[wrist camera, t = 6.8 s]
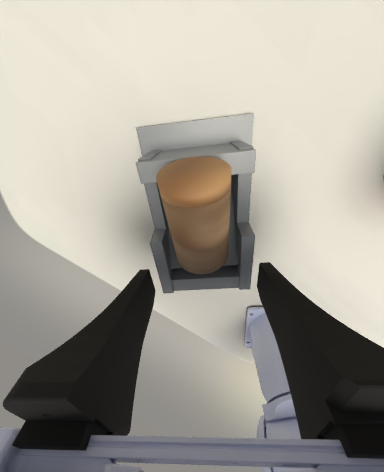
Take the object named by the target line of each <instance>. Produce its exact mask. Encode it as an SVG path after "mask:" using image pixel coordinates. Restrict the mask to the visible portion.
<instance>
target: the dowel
mask: <svg viewBox="0 0 384 472" xmlns="http://www.w3.org/2000/svg"><path fill="white" fill-rule="evenodd" d="M156 180H157V184H158V188H159V191H160V195H161V199H162V203H163V206H164V210H165V214H166V218H167V222H168V225H169V229H170V233H171V237H172V241H173V244H174V248H175V252H176V256H177V259H178V262H179V264H180V265H181V267H182V268H183V269H185V270H186V271H188V272H191V273H194V274H209V273H212V272H215V271H217V270H218V269H220V268H221V267H222V266H223V265H224V264H225V263H226V261H227V258H228V247H229V221H230V196H231V166H230V165H229V164H228V163H227V162H225V161H223V160H221V159H218V158H214V157H190V158H184V159H180V160H177V161H174V162H172V163H170V164H168V165H166V166H164V167H163V168H162V169H161V170H160V171H159V172H158V174H157V176H156Z"/></svg>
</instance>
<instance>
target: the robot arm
mask: <svg viewBox="0 0 384 472" xmlns="http://www.w3.org/2000/svg"><path fill="white" fill-rule="evenodd" d="M257 288H258V292H259V296H260V299H261V302H262V305H263V307H250V308H248V309H247V320H246V331H245V343H244V344H245V347H247V348H252V351H253V355H254V360H255V364H256V368H257V373H258V377H259V381H260V386H261V390H262V393H263V395H264V397H265V399H266V401H267V404H263V405H262V407H263V411H264V416H261V417H260V420H259V424H258V428H257V438H218V437H214V438H213V437H166V436H164V437H163V436H127V435H128V433H129V432H130V427H131V418H132V410H133V401H134V394H135V387H136V379H137V374H138V367H139V361H140V356H141V350H142V345H143V341H144V337H145V333H146V330H147V326H148V323H149V319H150V315H151V312H152V308H153V304H154V297H155V288H154V284H153V281H152V278H151V275H150V271H149V269H147V270H140V271H139V272H138V273H137V274H136V275H135V276H134V278H133V279H132V280H131V281H130V282H129V284H128V285H127V286H126V287H125V288H124V289H123V291H122V292H121V293H120V294H119V295H118V296H117V297H116V298H115V300H113V302H112V303H111V304H110V305H109V306H108V307H107V308H106V309H105V310H104V311H103V312H102V313H101V314H99V315H98V316H97V317H96V318H95V319H94V320H93V321H92V322H91V323H89V324H88V325H87V326H86V327H84V328H83V329H82V330H81V331H79V332H78V333H77V334H76V335H75V336H73V337H72V338H71V339H69V340H68V341H66V342H65V343H64V344H62V345H61V346H60V347H58V348H57V349H55V350H54V351H52V352H51V353H50V354H48V355H46V356H45V357H43V358H42V359H40V360H39V361H37V362H36V363H34V364H32V365H31V366H29V367H28V368H26V370H25V371H24V372H23V374H22V375H21V377H20V378H19V379H18V381H17V382H16V384H15V385H14V387H13V388H12V389H11V391H10V392H9V394H8V395H7V397H6V398H5V400H4V401H3V407H4V408H5V409H6V410H8V411H9V412H11V413H13V414H15V415H17V416H18V417H20V418H22V419H24V420H26V421H25V423H24V425H23V427H22V428H21V429H18V428H1V427H0V472H143V471H142V469H141V468H140V467H133V466H126V465H119V464H116V462H129V463H159V464H160V463H161V464H190V465H191V464H192V465H223V466H254V467H261V470H262V472H384V348H383V347H381V346H379V345H377V344H376V343H374V342H372V341H370V340H369V339H367V338H365V337H364V336H362V335H360V334H359V333H357V332H355V331H354V330H352V329H350V328H349V327H347V326H346V325H344V324H343V323H341V322H340V321H338V320H336V319H335V318H334V317H332V316H331V315H329V314H328V313H326V312H325V311H324V310H322V309H321V308H320V307H318V306H317V305H316V304H314V303H313V302H312V301H311V300H309V299H308V298H307V297H306V296H305V295H303V294H302V293H301V292H300V291H299V290H298V289H297V288H295V287H294V286H293V285H292V284H291V283H290V282H289V281H288V280H287V279H286V278H285V277H284V276H283V275H282V274H281V273H280V272H279V271H278V270H277V269H276V268H275V267H274V266H273V265H272V264H271V263H270V262H268V263H260V264H259V273H258V281H257Z"/></svg>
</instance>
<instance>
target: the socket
mask: <svg viewBox="0 0 384 472" xmlns="http://www.w3.org/2000/svg"><path fill="white" fill-rule="evenodd" d="M253 114H254V113H252V114H244V115H235V116H227V117H219V118H211V119H203V120H195V121H187V122H179V123H171V124H163V125H155V126H147V127H139V128H136V130H137V134H138V139H139V143H140V147H141V152H142V157H141V158H139V159H138V162H136V166H137V170H138V174H139V178H140V182H141V184H142V183H144V185H145V189H146V193H147V197H148V202H149V206H150V210H151V214H152V218H153V222H154V226H155V231H154V234H153V236H152V239H151V241H150V245H151V249H152V253H153V256H154V260H155V264H156V267H157V271H158V275H159V278H160V282H161V286H162V289H163V293H173V292H174V291H179V290H201V289H222V288H239V289H240V290H243V289H250V285H251V274H252V263H253V252H254V240H255V235H254V233H253V231H252V228H251V226H250V224H249V206H250V191H251V176H252V173H254V170H255V157H256V150H255V149H253V146H252V131H253ZM190 157H214V158H218V159H221V160H223V161H225V162H227V163H228V164H229V165H230V166H231V196H230V221H229V247H228V258H227V261H226V263H225V264H224V265H223V266H222V267H221V268H220V269H218V270H217V271H215V272H212V273H209V274H194V273H191V272H188V271H186V270H185V269H183V268H182V267H181V265H180V264H179V262H178V259H177V256H176V252H175V248H174V244H173V241H172V237H171V233H170V229H169V225H168V222H167V218H166V214H165V210H164V206H163V203H162V199H161V195H160V191H159V188H158V184H157V180H156V176H157V174H158V172H159V171H160V170H161V169H162V168H163V167H164V166H166V165H168V164H170V163H172V162H174V161H177V160H180V159H184V158H190Z"/></svg>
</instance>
